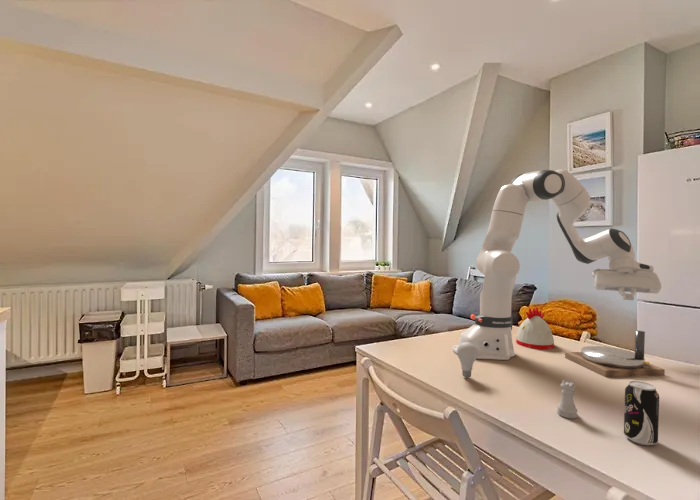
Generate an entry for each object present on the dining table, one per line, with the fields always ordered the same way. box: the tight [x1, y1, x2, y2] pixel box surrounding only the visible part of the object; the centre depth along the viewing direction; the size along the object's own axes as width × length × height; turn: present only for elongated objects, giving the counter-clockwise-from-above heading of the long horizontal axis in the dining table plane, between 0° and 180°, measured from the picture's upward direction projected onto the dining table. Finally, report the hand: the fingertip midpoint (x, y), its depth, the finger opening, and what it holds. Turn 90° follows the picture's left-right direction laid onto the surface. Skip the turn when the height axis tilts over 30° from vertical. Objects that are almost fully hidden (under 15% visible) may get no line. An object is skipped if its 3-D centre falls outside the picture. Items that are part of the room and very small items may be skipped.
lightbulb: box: [456, 342, 478, 379], centre depth 114 cm, size 6×6×11 cm
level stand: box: [564, 351, 666, 378], centre depth 126 cm, size 20×19×2 cm
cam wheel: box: [580, 330, 651, 368], centre depth 125 cm, size 19×18×11 cm
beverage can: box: [623, 380, 660, 447], centre depth 79 cm, size 6×6×12 cm
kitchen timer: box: [515, 307, 555, 350], centre depth 152 cm, size 14×14×15 cm
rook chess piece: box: [556, 380, 579, 420], centre depth 90 cm, size 4×4×8 cm
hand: (628, 299), depth 135 cm, fingers closed
